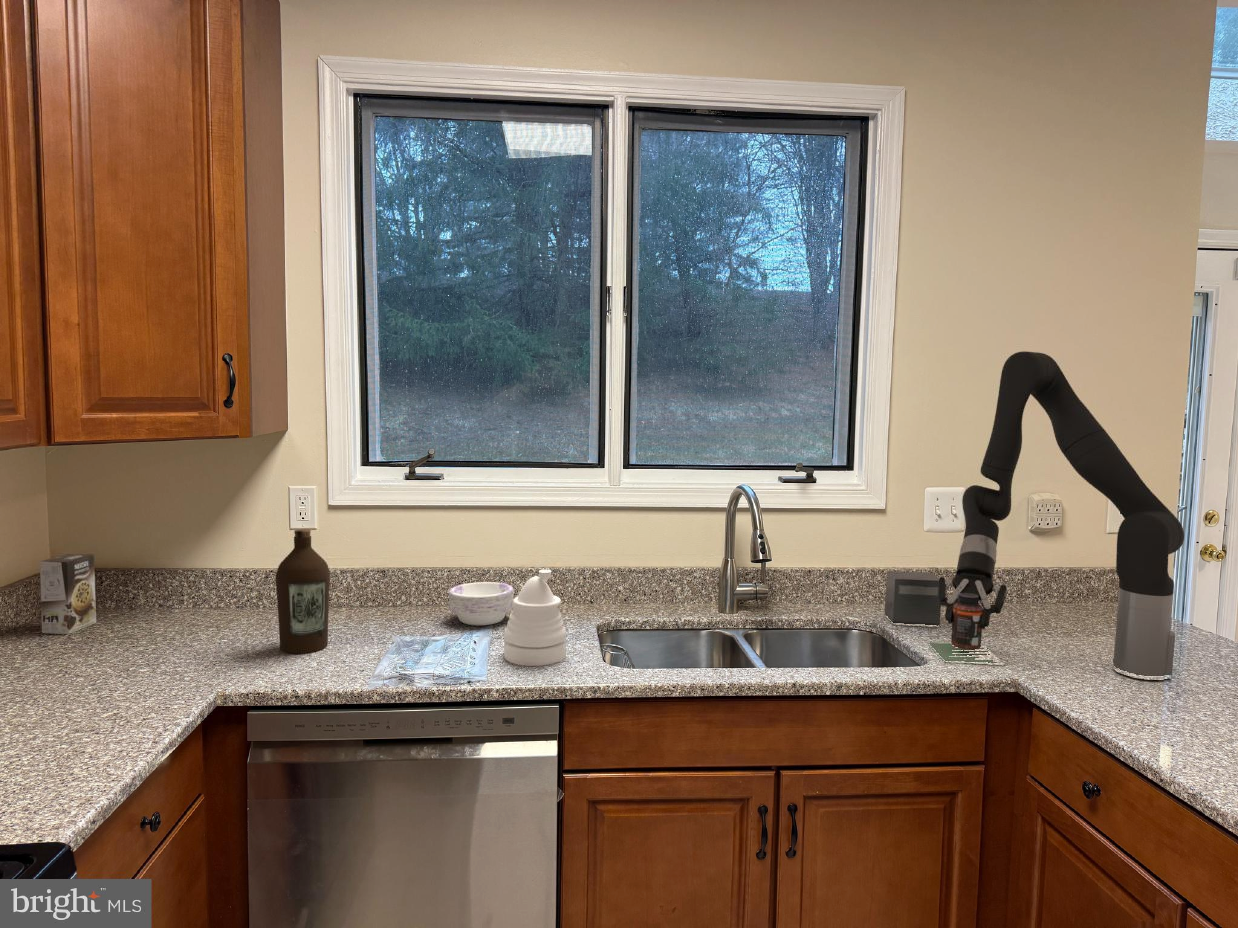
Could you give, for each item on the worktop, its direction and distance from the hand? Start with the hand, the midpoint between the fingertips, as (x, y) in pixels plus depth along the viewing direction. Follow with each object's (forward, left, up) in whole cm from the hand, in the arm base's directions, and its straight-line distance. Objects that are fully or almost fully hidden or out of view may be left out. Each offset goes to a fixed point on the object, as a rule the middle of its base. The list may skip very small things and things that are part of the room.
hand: (966, 624), depth 171 cm
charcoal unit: (+4, -27, -7) cm, 28 cm away
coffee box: (+196, +13, -7) cm, 197 cm away
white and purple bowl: (+108, -9, -7) cm, 109 cm away
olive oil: (+139, +17, -7) cm, 141 cm away
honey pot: (+90, +14, -7) cm, 92 cm away
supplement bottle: (-1, -2, -5) cm, 6 cm away
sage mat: (-1, -1, -7) cm, 7 cm away
